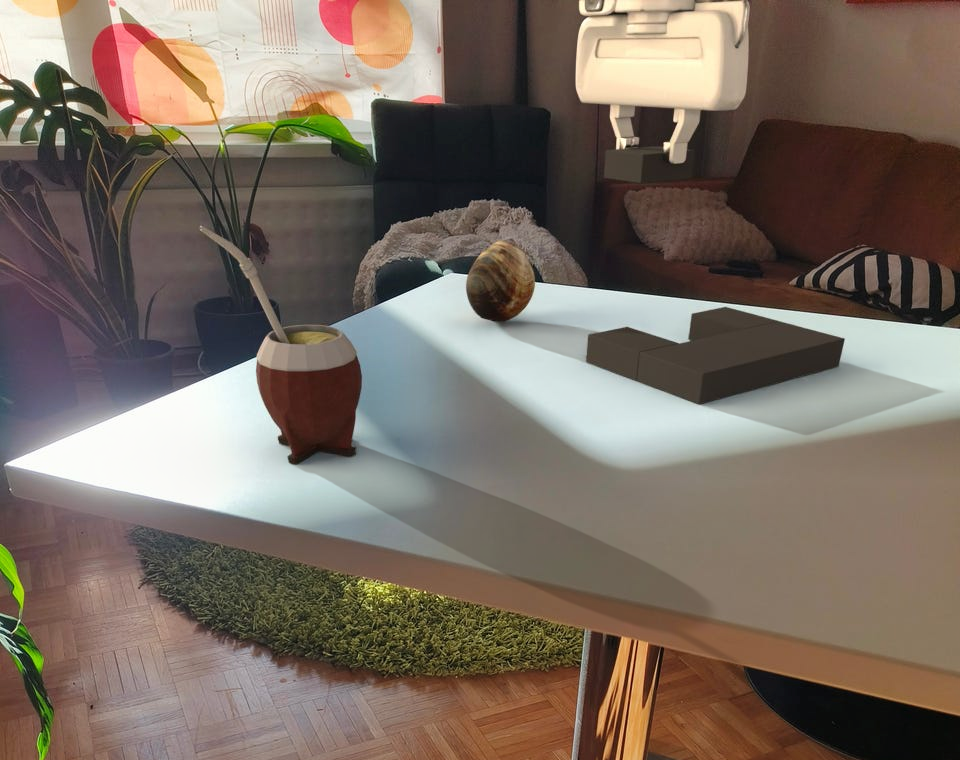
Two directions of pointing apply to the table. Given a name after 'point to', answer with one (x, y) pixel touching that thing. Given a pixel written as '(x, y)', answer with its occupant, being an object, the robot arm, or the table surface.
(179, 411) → the table surface
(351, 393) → the mate gourd
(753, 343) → the big pad
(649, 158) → the small block
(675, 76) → the robot arm
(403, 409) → the table surface
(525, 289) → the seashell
